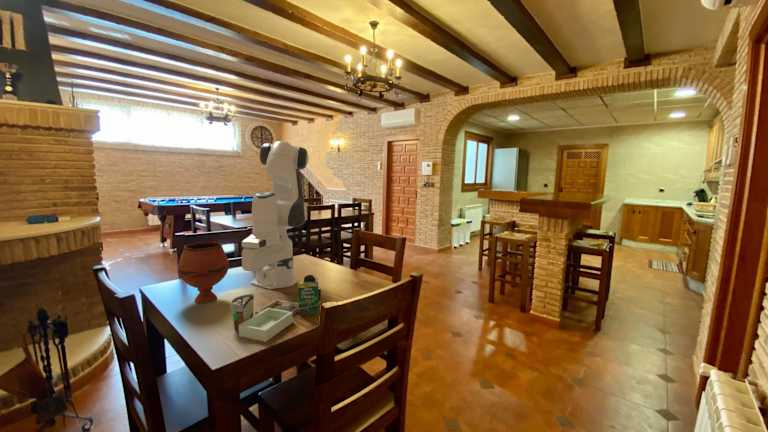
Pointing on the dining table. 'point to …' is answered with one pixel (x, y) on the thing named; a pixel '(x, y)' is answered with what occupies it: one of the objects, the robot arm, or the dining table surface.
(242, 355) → the dining table surface
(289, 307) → the pale grey cube
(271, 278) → the off-white cube
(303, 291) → the coffee box
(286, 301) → the beech tray
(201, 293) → the goblet
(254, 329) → the sage bin
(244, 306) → the food container
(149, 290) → the dining table surface
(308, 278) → the beige square canister
